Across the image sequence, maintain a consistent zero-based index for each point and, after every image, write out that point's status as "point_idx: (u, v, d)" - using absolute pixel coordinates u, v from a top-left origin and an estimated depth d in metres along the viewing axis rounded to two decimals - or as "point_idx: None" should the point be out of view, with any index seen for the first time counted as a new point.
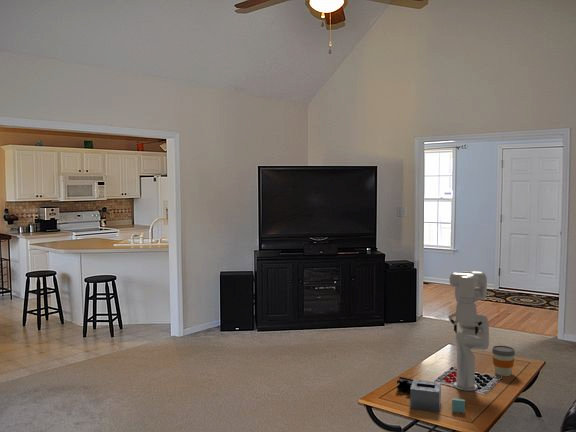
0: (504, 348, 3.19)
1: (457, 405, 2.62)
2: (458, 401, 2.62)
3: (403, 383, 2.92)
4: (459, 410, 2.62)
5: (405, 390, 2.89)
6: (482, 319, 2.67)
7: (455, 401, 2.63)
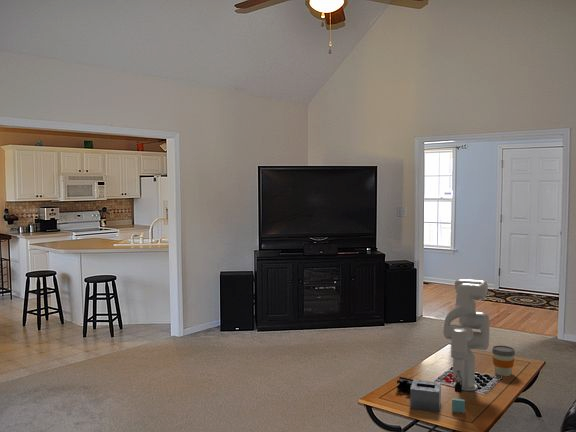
0: (504, 348, 3.19)
1: (457, 405, 2.62)
2: (458, 401, 2.62)
3: (403, 383, 2.92)
4: (459, 410, 2.62)
5: (405, 390, 2.89)
6: None
7: (455, 401, 2.63)
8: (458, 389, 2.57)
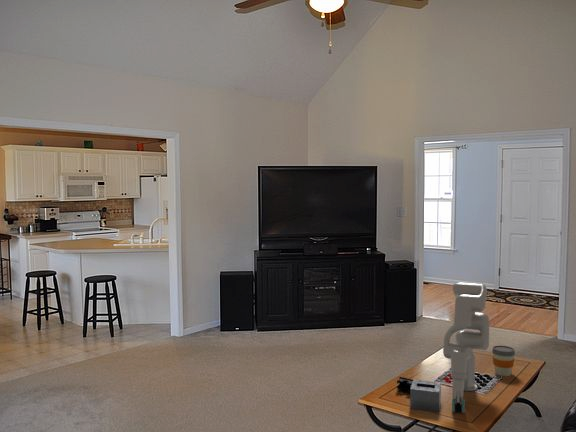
0: (504, 348, 3.19)
1: None
2: None
3: (403, 383, 2.92)
4: None
5: (405, 390, 2.89)
6: None
7: None
8: (458, 409, 2.61)
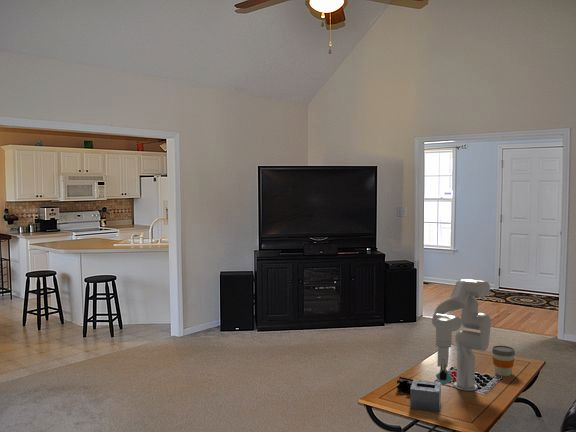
0: (504, 348, 3.19)
1: None
2: None
3: (403, 383, 2.92)
4: (447, 380, 2.65)
5: (405, 390, 2.89)
6: None
7: (439, 375, 2.66)
8: (443, 377, 2.64)
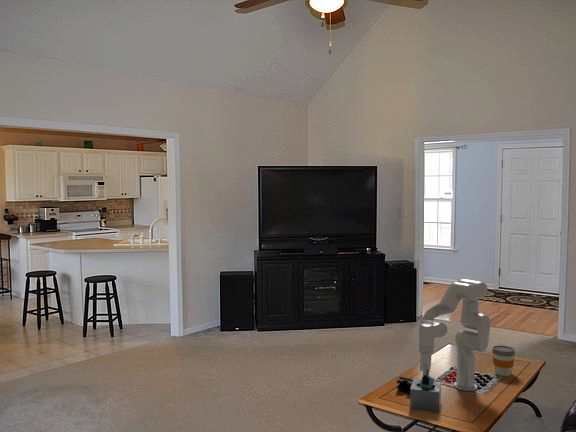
0: (504, 348, 3.19)
1: None
2: None
3: (403, 383, 2.92)
4: (431, 383, 2.69)
5: (405, 390, 2.89)
6: None
7: (421, 383, 2.71)
8: (425, 382, 2.69)
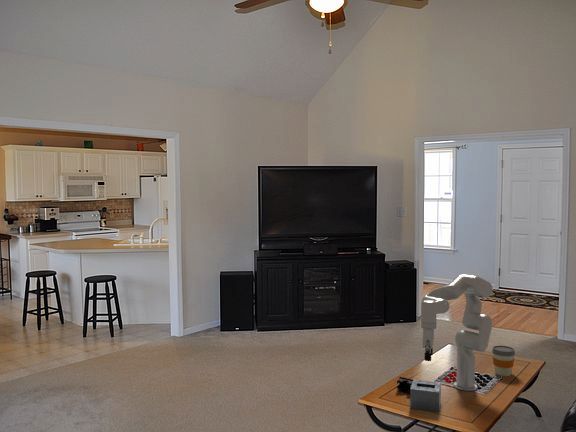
0: (504, 348, 3.19)
1: None
2: None
3: (403, 383, 2.92)
4: None
5: (405, 390, 2.89)
6: None
7: None
8: (427, 358, 2.65)
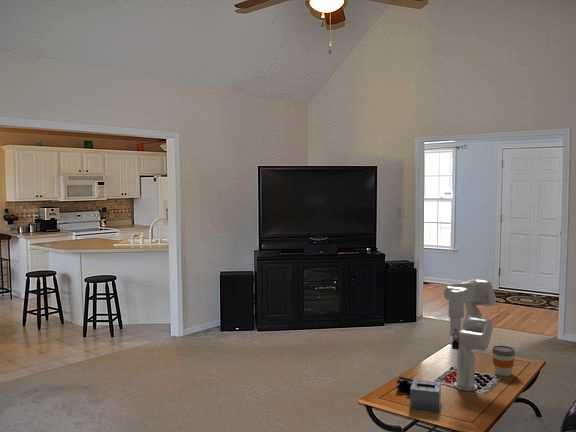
0: (504, 348, 3.19)
1: None
2: None
3: (403, 383, 2.92)
4: None
5: (405, 390, 2.89)
6: None
7: None
8: (455, 346, 2.71)
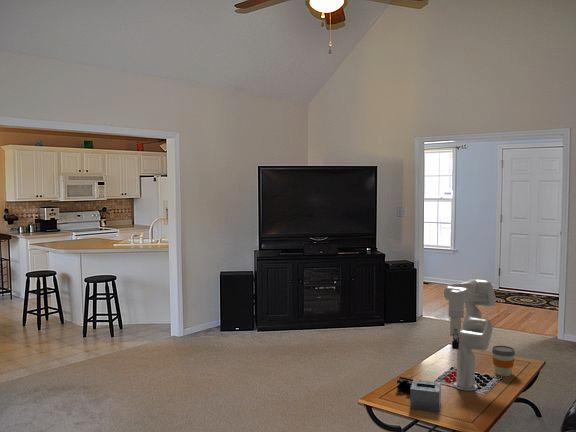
0: (504, 348, 3.19)
1: None
2: None
3: (403, 383, 2.92)
4: None
5: (405, 390, 2.89)
6: None
7: None
8: (455, 346, 2.71)
